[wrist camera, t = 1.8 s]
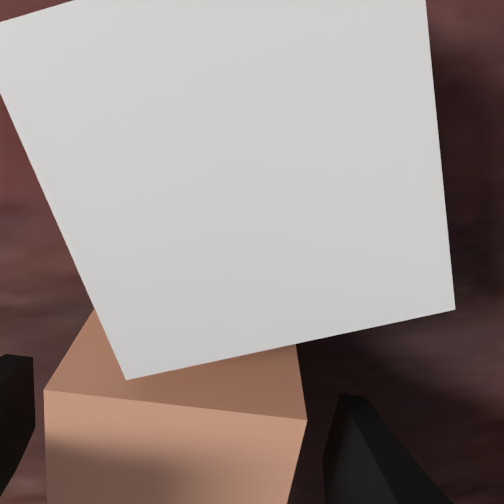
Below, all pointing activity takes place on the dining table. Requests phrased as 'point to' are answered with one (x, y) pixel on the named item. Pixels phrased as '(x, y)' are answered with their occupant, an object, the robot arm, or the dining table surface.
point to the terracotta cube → (172, 428)
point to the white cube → (236, 167)
